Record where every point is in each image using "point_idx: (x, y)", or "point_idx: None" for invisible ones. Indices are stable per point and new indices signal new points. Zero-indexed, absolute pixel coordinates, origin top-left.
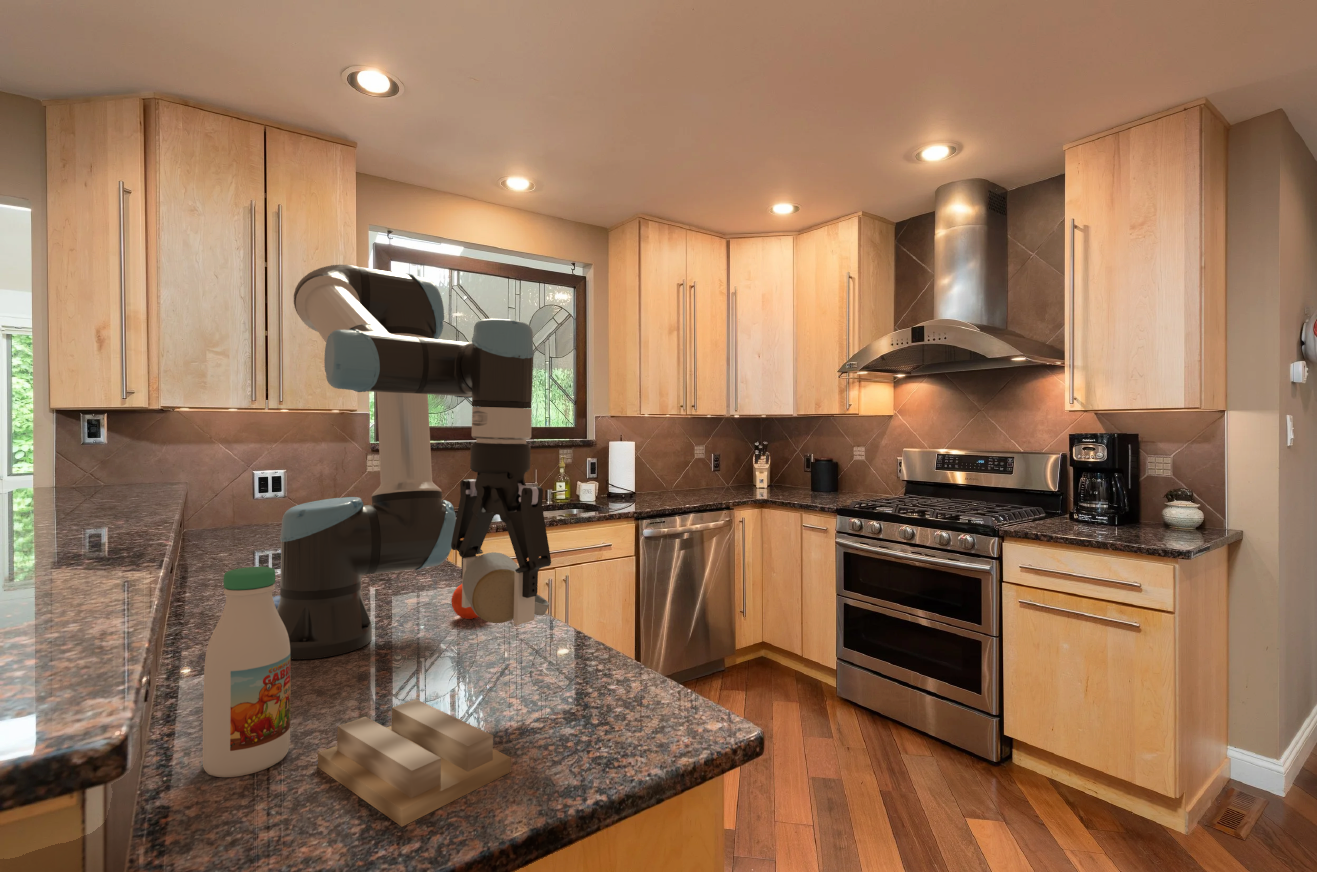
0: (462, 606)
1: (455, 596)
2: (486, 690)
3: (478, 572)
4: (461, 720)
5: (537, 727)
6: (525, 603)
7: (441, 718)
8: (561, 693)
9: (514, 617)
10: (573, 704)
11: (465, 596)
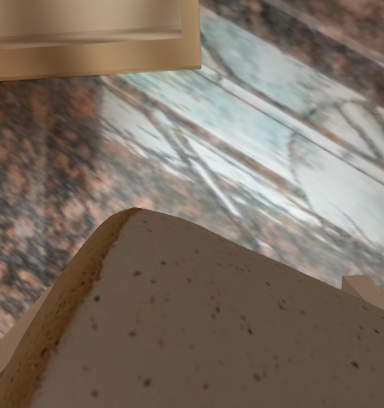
0: (360, 275)
1: None
2: (251, 233)
3: (176, 361)
4: (11, 35)
5: (64, 204)
6: None
7: (47, 8)
8: None
9: None
10: None
11: (364, 300)
